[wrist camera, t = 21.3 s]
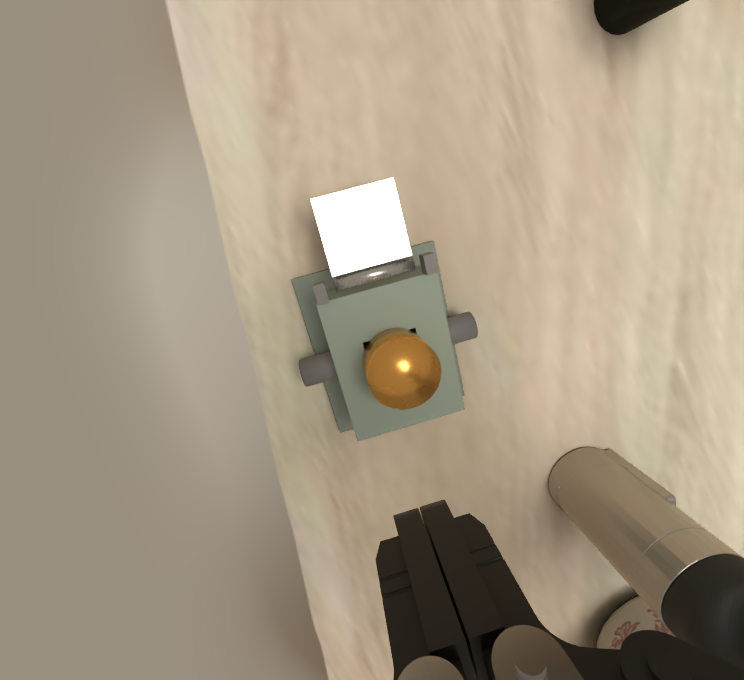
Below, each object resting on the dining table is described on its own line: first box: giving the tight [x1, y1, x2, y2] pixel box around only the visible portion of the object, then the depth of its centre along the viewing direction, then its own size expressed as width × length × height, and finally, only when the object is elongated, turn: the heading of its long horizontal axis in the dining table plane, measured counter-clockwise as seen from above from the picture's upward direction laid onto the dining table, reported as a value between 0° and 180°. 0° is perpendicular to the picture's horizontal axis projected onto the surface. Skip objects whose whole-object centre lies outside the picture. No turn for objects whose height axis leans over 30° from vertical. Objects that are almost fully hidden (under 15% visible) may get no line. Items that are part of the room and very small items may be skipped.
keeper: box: [310, 177, 415, 292], centre depth 31 cm, size 7×1×8 cm
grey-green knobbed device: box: [292, 241, 478, 441], centre depth 38 cm, size 18×18×8 cm
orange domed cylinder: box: [363, 327, 442, 410], centre depth 36 cm, size 6×6×10 cm
